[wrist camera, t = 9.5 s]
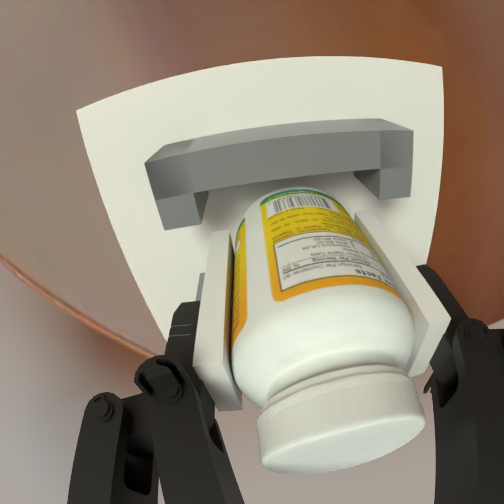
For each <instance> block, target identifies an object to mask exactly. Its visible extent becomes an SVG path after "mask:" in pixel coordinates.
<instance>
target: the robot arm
mask: <svg viewBox="0 0 504 504" xmlns="http://www.w3.org/2000/svg"><path fill="white" fill-rule="evenodd" d="M354 222H355V224H356V225H357V227H358V228H359V230H360V231H361V233H362V234H363V236H364V237H365V239H366V240H367V242H368V243H369V245H370V246H371V248H372V249H373V251H374V252H375V254H376V256H377V257H378V259H379V260H380V262H381V264H382V265H383V267H384V268H385V270H386V272H387V273H388V275H389V277H390V278H391V280H392V282H393V283H394V285H395V287H396V288H397V290H398V292H399V293H400V295H401V297H402V299H403V300H404V302H405V304H406V306H407V308H408V310H409V312H410V315H411V317H412V320H413V324H414V329H415V341H414V347H413V351H412V354H411V357H410V359H409V361H408V363H407V365H406V367H405V368H404V370H403V371H405V372H406V373H407V374H408V376H409V377H413V376H417V375H419V374H422V373H424V372H425V371H426V369H427V367H428V365H429V363H430V365H431V367H432V369H433V371H434V372H433V374H432V375H431V377H430V379H429V380H428V382H427V383H426V385H425V387H424V393H427V391H428V390H429V388H430V387H431V391H430V393H432V400H433V411H434V423H435V442H436V481H435V483H436V484H435V501H434V504H504V329H488V327H487V326H486V325H485V324H484V323H483V322H481V321H479V320H477V319H471V318H468V316H467V315H466V313H465V312H464V310H463V309H462V307H461V306H460V305H459V303H458V302H457V300H456V299H455V297H454V296H453V295H452V293H451V292H450V290H448V288H447V286H446V285H445V284H444V283H443V282H442V280H441V278H440V277H439V276H438V274H437V273H436V272H435V271H434V270H432V269H431V268H429V267H428V266H427V265H425V264H423V265H418V266H415V265H414V264H413V262H412V261H411V260H410V258H409V257H408V256H407V254H406V253H405V252H404V251H403V249H402V248H401V247H400V245H399V244H398V243H397V242H396V240H395V239H394V238H393V237H392V235H391V234H390V233H389V232H388V231H387V229H386V228H385V227H384V226H383V224H382V223H381V222H380V221H379V220H378V219H377V217H376V216H375V215H374V214H373V213H372V211H371V210H368V211H359V212H355V214H354ZM234 259H235V253H234V248H233V244H232V239H231V234H230V230H229V229H228V230H222V231H215V232H212V233H211V239H210V245H209V251H208V257H207V263H206V269H205V276H204V282H203V289H202V296H201V300H200V301H191V302H182V303H181V304H180V305H179V306H178V308H177V309H176V311H175V312H174V313H173V317H172V322H171V328H170V331H169V337H168V340H167V345H166V350H165V355H159V356H154V357H152V358H150V359H147V360H146V361H145V362H144V363H142V364H141V365H140V366H139V368H138V370H137V371H136V373H135V378H134V382H135V384H136V385H137V386H138V387H139V388H140V390H141V391H142V392H143V393H141V394H138V395H135V396H131V397H127V398H124V399H120V398H119V397H118V396H116V395H115V394H113V393H110V392H105V393H100V394H98V395H96V396H94V397H93V398H92V399H91V400H90V401H89V402H88V404H87V407H86V409H85V412H84V416H83V421H82V424H81V429H80V433H79V438H78V442H77V447H76V452H75V457H74V462H73V468H72V474H71V480H70V487H69V494H68V502H67V504H158V482H159V478H160V483H161V488H162V492H163V496H164V500H165V504H245V503H244V500H243V498H242V495H241V492H240V490H239V487H238V484H237V481H236V478H235V476H234V472H233V470H232V467H231V464H230V461H229V458H228V454H227V452H226V448H225V445H224V442H223V439H222V436H221V432H220V429H219V426H218V423H217V421H216V419H215V418H214V414H215V406H216V408H217V409H218V411H235V410H242V392H241V390H240V389H239V387H238V385H237V384H236V382H235V379H234V376H233V372H232V365H231V337H232V336H231V332H232V308H233V285H234Z"/></svg>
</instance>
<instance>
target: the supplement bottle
mask: <svg viewBox="0 0 504 504" xmlns="http://www.w3.org/2000/svg"><path fill="white" fill-rule="evenodd" d="M231 336H232V337H231V365H232V372H233V376H234V379H235V382H236V384H237V385H238V387H239V389H240V390H241V392H242V393H243V394H244V395H245V396H246V397H247V398H248V399H249V400H250V401H251V402H253V403H254V404H255V405H257V406H258V407H260V408H262V410H261V412H260V417H259V419H258V421H257V431H258V439H259V454H260V461H261V465H262V466H263V467H264V468H266V469H268V470H270V471H274V472H277V473H285V474H312V473H322V472H330V471H334V470H339V469H344V468H348V467H352V466H355V465H358V464H362V463H365V462H368V461H371V460H373V459H376V458H379V457H381V456H383V455H385V454H387V453H389V452H392V451H393V450H395V449H397V448H399V447H401V446H402V445H404V444H406V443H407V442H408V441H410V440H411V439H413V438H414V437H415V436H417V435H418V434H419V433H420V432H421V430H422V429H423V428H424V426H425V423H426V418H425V414H424V411H423V408H422V405H421V402H420V400H419V397H418V395H417V391H416V388H415V384H414V382H413V380H412V379H411V378H410V377H409V376H408V374H407V373H406V372H405V371H403V370H404V368H405V367H406V365H407V363H408V361H409V359H410V357H411V354H412V351H413V347H414V341H415V329H414V324H413V320H412V317H411V315H410V312H409V310H408V308H407V306H406V304H405V302H404V300H403V299H402V297H401V295H400V293H399V292H398V290H397V288H396V287H395V285H394V283H393V282H392V280H391V278H390V277H389V275H388V273H387V272H386V270H385V268H384V267H383V265H382V264H381V262H380V260H379V259H378V257H377V256H376V254H375V252H374V251H373V249H372V248H371V246H370V245H369V243H368V242H367V240H366V239H365V237H364V236H363V234H362V233H361V231H360V230H359V228H358V227H357V225H356V224H355V222H354V221H353V219H352V218H351V216H350V215H349V213H348V212H347V211H346V210H345V208H344V207H343V206H342V204H341V203H340V202H339V201H338V200H337V199H335V198H334V197H333V196H331V195H330V194H328V193H326V192H324V191H322V190H320V189H317V188H313V187H309V186H287V187H282V188H278V189H275V190H273V191H271V192H269V193H267V194H265V195H263V196H262V197H260V198H259V199H257V200H256V201H255V202H254V203H253V204H252V205H251V206H250V207H249V208H248V209H247V211H246V212H245V213H244V215H243V216H242V218H241V220H240V222H239V225H238V228H237V232H236V240H235V259H234V285H233V308H232V332H231Z"/></svg>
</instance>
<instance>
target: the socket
mask: <svg viewBox="0 0 504 504" xmlns="http://www.w3.org/2000/svg"><path fill="white" fill-rule="evenodd" d="M76 112H77V116H78V120H79V124H80V128H81V132H82V136H83V139H84V143H85V147H86V150H87V153H88V157H89V160H90V163H91V167H92V170H93V173H94V176H95V179H96V182H97V185H98V188H99V191H100V194H101V197H102V200H103V202H104V205H105V208H106V211H107V213H108V216H109V219H110V221H111V224H112V226H113V229H114V231H115V234H116V236H117V239H118V241H119V244H120V246H121V249H122V251H123V253H124V256H125V258H126V260H127V262H128V265H129V267H130V269H131V271H132V274H133V276H134V278H135V280H136V282H137V285H138V287H139V289H140V291H141V293H142V295H143V297H144V299H145V301H146V303H147V305H148V307H149V309H150V311H151V313H152V315H153V317H154V319H155V321H156V323H157V325H158V327H159V329H160V330H161V332H162V334H163V336H164V338H165V340H166V341H167V340H168V337H169V331H170V328H171V322H172V317H173V313H174V312H175V311H176V309H177V308H178V306H179V305H180V304H181V303H182V302H191V301H200V300H201V296H202V289H203V282H204V276H205V269H206V263H207V257H208V251H209V245H210V239H211V233H212V232H215V231H222V230H228V229H229V230H230V234H231V239H232V244H233V248H234V253H235V240H236V232H237V228H238V225H239V222H240V220H241V218H242V216H243V215H244V213H245V212H246V211H247V209H248V208H249V207H250V206H251V205H252V204H253V203H254V202H255V201H256V200H257V199H259V198H260V197H262V196H263V195H265V194H267V193H269V192H271V191H273V190H275V189H278V188H282V187H287V186H309V187H313V188H317V189H320V190H322V191H324V192H326V193H328V194H330V195H331V196H333V197H334V198H335V199H337V200H338V201H339V202H340V203H341V204H342V206H343V207H344V208H345V210H346V211H347V212H348V213H349V215H350V216H351V218H352V219H353V221H354V214H355V212H359V211H368V210H371V211H372V213H373V214H374V215H375V216H376V217H377V219H378V220H379V221H380V222H381V223H382V224H383V226H384V227H385V228H386V229H387V231H388V232H389V233H390V234H391V235H392V237H393V238H394V239H395V240H396V242H397V243H398V244H399V245H400V247H401V248H402V249H403V251H404V252H405V253H406V254H407V256H408V257H409V258H410V260H411V261H412V262H413V264H414V265H415V266H418V265H423V264H425V265H426V262H427V258H428V253H429V249H430V244H431V239H432V234H433V228H434V222H435V216H436V210H437V203H438V196H439V188H440V178H441V168H442V155H443V134H444V97H443V77H442V67H440V66H435V65H429V64H423V63H417V62H410V61H402V60H393V59H383V58H369V57H347V56H317V57H294V58H280V59H269V60H260V61H252V62H245V63H238V64H231V65H225V66H220V67H214V68H209V69H204V70H200V71H195V72H191V73H186V74H182V75H178V76H174V77H170V78H167V79H163V80H159V81H156V82H152V83H149V84H146V85H143V86H139V87H136V88H133V89H130V90H127V91H125V92H122V93H119V94H116V95H113V96H111V97H108V98H105V99H103V100H100V101H98V102H95V103H93V104H90V105H88V106H86V107H83V108H81V109H79V110H77V111H76Z"/></svg>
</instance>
